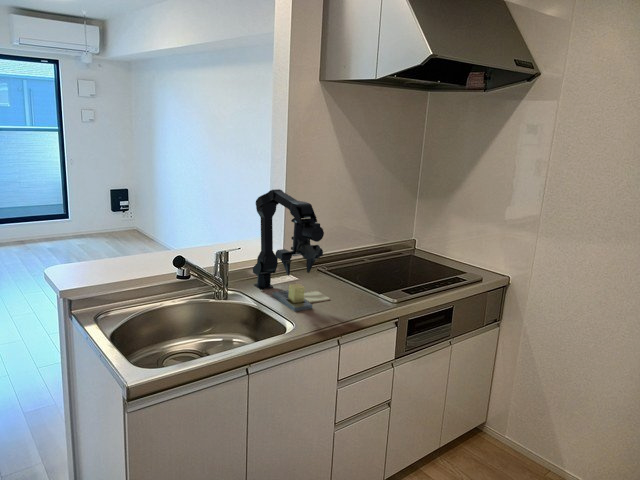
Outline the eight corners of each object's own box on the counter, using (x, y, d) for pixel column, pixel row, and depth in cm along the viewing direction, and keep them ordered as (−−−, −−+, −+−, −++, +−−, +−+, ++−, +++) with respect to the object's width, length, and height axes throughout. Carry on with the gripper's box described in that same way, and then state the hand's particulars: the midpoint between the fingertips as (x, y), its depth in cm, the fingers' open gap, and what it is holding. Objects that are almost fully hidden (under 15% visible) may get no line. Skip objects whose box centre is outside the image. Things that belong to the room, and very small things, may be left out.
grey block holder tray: (272, 296, 203) (272, 292, 203) (289, 293, 208) (289, 289, 207) (294, 311, 189) (294, 307, 189) (312, 308, 193) (312, 304, 193)
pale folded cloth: (296, 295, 206) (297, 293, 206) (316, 291, 212) (316, 290, 212) (309, 303, 198) (309, 302, 198) (329, 299, 204) (330, 298, 204)
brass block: (287, 303, 197) (289, 284, 195) (297, 302, 199) (298, 283, 197) (293, 307, 193) (294, 288, 191) (303, 305, 195) (304, 287, 193)
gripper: (290, 242, 178) (288, 283, 181) (332, 238, 188) (329, 277, 192) (275, 235, 186) (273, 274, 190) (316, 231, 197) (313, 269, 201)
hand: (298, 273), depth 193 cm, fingers open, 9 cm apart
